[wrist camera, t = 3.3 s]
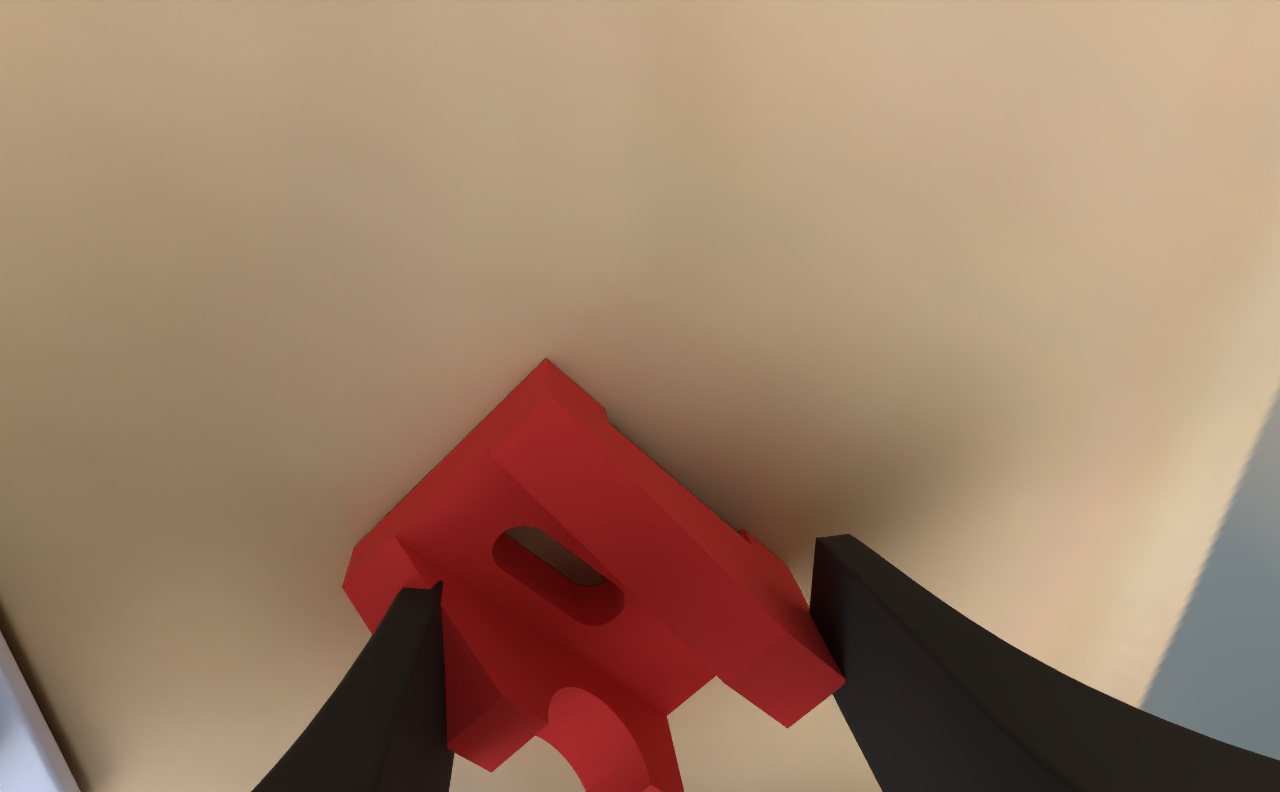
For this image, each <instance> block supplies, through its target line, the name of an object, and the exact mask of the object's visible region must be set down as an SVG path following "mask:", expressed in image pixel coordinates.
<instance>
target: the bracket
mask: <svg viewBox="0 0 1280 792" xmlns="http://www.w3.org/2000/svg"><path fill="white" fill-rule="evenodd" d="M518 526H531V527H535V528H538V529H540V530H542V531H543V532H545V533H546V534H547V535H549V536H550V537H551V538H553V539H554V540H555V541H557V542H558V543H560V544H561V545H562V546H564V547H565V548H566V549H568V550H569V551H570V552H572V553H573V554H575V555H576V556H577V557H579V558H580V559H581V560H583V561H584V562H585V563H587V564H588V565H590V566H591V567H592V568H594V569H595V570H596V571H598V572H599V573H600V574H602V575H603V576H605V577H606V578H607V579H608V580H607V581H606V582H604V583H602V584H600V585H596V586H591V587H586V586H580V585H577V584H575V583H573V582H572V581H570V580H569V579H567V578H566V577H565V576H563V575H562V574H560V573H559V572H558V571H556V570H555V569H553V568H552V567H551V566H549V565H548V564H546V563H545V562H543V561H542V560H541V559H539V558H538V557H536V556H535V555H534V554H532V553H531V552H529V551H528V550H527V549H525V548H524V547H522V546H521V545H520V544H518V543H517V542H515V541H514V540H513V539H511V538H510V537H508V536H507V535H506V534H504V533H503V532H505V531H506V530H508V529H511V528H514V527H518ZM441 580H443V591H442V598H441V617H442V631H443V645H444V659H445V682H446V718H447V746H448V749H449V750H451V751H453V752H455V753H456V754H458V755H460V756H462V757H464V758H466V759H467V760H469V761H471V762H473V763H475V764H477V765H479V766H480V767H482V768H484V769H486V770H488V771H490V772H493V771H494V770H495V769H496V768H497V767H499V766H500V765H501V764H502V763H503V762H504V761H506V760H507V759H508V758H509V757H510V756H512V755H513V754H514V753H515V752H516V751H517V750H519V749H520V748H521V747H522V746H523V745H524V744H526V743H527V742H528V741H529V740H530V739H532V738H533V737H534V736H535V735H536V736H538V737H540V738H542V739H544V740H545V741H547V742H548V743H550V744H551V745H552V746H553V747H555V748H556V749H557V750H558V751H559V752H560V753H561V754H562V755H563V756H564V757H565V759H566V760H567V761H568V762H569V763H570V765H571V766H572V767H573V769H574V770H575V772H576V773H577V775H578V777H579V778H580V780H581V782H582V784H583V786H584V788H585V790H586V792H684V789H683V785H682V780H681V776H680V772H679V768H678V763H677V759H676V755H675V750H674V746H673V742H672V737H671V733H670V729H669V724H668V720H667V715H668V714H670V713H671V712H672V711H673V710H675V709H676V708H677V707H678V706H679V705H681V704H682V703H683V702H684V701H686V700H687V699H688V698H689V697H690V696H692V695H693V694H694V693H695V692H697V691H698V690H699V689H700V688H701V687H703V686H704V685H705V684H706V683H708V682H709V681H710V680H711V679H712V678H714V677H715V676H716V675H717V676H718V677H719V678H720V679H721V680H722V681H723V682H724V683H725V684H726V685H728V686H729V687H731V688H732V689H733V690H735V691H736V692H738V693H739V694H740V695H742V696H743V697H744V698H746V699H747V700H749V701H750V702H751V703H753V704H754V705H756V706H757V707H758V708H760V709H761V710H763V711H764V712H765V713H767V714H768V715H770V716H771V717H772V718H774V719H775V720H776V721H778V722H779V723H781V724H782V725H783V726H785V727H786V728H789V727H790V726H792V725H793V724H794V723H795V722H797V721H798V720H799V719H801V718H802V717H803V716H804V715H806V714H807V713H808V712H810V711H811V710H812V709H813V708H815V707H816V706H817V705H818V704H820V703H821V702H822V701H824V700H825V699H826V698H827V697H829V696H830V695H831V694H833V693H834V692H835V691H836V690H838V689H839V688H840V687H842V686H843V685H844V684H845V678H844V676H843V674H842V673H841V671H840V669H839V667H838V666H837V664H836V662H835V660H834V659H833V657H832V655H831V653H830V652H829V650H828V648H827V646H826V644H825V642H824V640H823V638H822V636H821V634H820V632H819V630H818V628H817V626H816V624H815V623H814V621H813V619H812V617H811V615H810V613H809V610H810V608H809V606H808V604H807V602H806V600H805V599H804V597H803V595H802V593H801V591H800V589H799V587H798V585H797V583H796V581H795V580H794V578H793V576H792V574H791V572H790V570H789V568H788V566H787V565H786V564H785V563H784V562H782V561H781V560H780V559H779V558H778V557H777V556H776V555H774V554H773V553H772V552H771V551H770V550H769V549H767V548H766V547H765V546H764V545H763V544H762V543H760V542H759V541H758V540H757V539H756V538H755V537H753V536H752V535H751V534H750V533H749V532H748V531H746V530H745V529H743V530H742V531H741V532H739V533H737V532H736V531H735V530H734V529H732V528H731V527H730V526H729V525H728V524H727V523H725V522H724V521H723V520H722V519H721V518H719V517H718V516H717V515H716V514H715V513H714V512H712V511H711V510H710V509H709V508H708V507H707V506H705V505H704V504H703V503H702V502H701V501H700V500H698V499H697V498H696V497H695V496H694V495H692V494H691V493H690V492H689V491H688V490H687V489H685V488H684V487H683V486H682V485H681V484H680V483H678V482H677V481H676V480H675V479H674V478H673V477H671V476H670V475H669V474H668V473H667V472H665V471H664V470H663V469H662V468H661V467H660V466H658V465H657V464H656V463H655V462H654V461H653V460H651V459H650V458H649V457H648V456H647V455H646V454H644V453H643V452H642V451H641V450H640V449H639V448H637V447H636V446H635V445H634V444H633V443H631V442H630V441H629V440H628V439H627V438H626V437H624V436H623V435H622V434H621V433H620V432H619V431H617V430H616V429H615V428H614V427H613V426H612V425H610V424H609V423H608V420H607V416H606V412H605V408H604V407H602V406H601V405H600V404H599V403H598V402H597V401H595V400H594V399H593V398H592V397H591V396H590V395H588V394H587V393H586V392H585V391H584V390H583V389H582V388H580V387H579V386H578V385H577V384H576V383H575V382H573V381H572V380H571V379H570V378H569V377H568V376H566V375H565V374H564V373H563V372H562V371H561V370H559V369H558V368H557V367H556V366H555V365H554V364H552V363H551V362H550V361H549V360H548V359H547V358H546V359H545V360H544V361H543V362H542V363H541V364H540V365H539V366H538V367H537V368H536V369H535V370H534V371H533V372H532V373H531V374H530V375H529V376H528V377H527V378H526V379H525V380H524V381H523V382H522V383H521V384H520V385H519V386H518V387H517V388H516V389H515V390H513V391H512V392H511V393H510V394H509V395H508V396H507V397H506V398H505V399H504V400H503V401H502V402H501V403H500V404H499V405H498V406H497V407H496V408H495V409H494V410H493V411H492V412H491V413H490V414H489V415H488V416H487V417H486V418H485V419H484V420H483V421H482V422H481V423H480V424H479V425H478V426H477V427H476V428H475V429H474V430H473V431H472V432H471V433H470V434H469V435H468V436H467V437H466V438H465V439H464V440H463V441H462V442H461V443H460V444H459V445H458V446H457V447H456V448H455V449H454V450H453V451H452V452H451V453H450V454H449V455H448V456H447V457H446V458H445V459H443V460H442V461H441V462H440V463H439V464H438V465H437V466H436V467H435V468H434V469H433V470H432V471H431V472H430V473H429V474H428V475H427V476H426V477H425V478H424V479H423V480H422V481H421V482H420V483H419V484H418V485H417V486H416V487H415V488H414V489H413V490H412V491H411V492H410V493H409V494H408V495H407V496H406V497H405V498H404V499H403V500H402V501H401V502H400V503H399V504H398V505H397V506H396V507H395V508H394V509H393V510H392V511H391V512H390V513H389V514H388V515H387V516H386V517H385V518H384V519H383V520H382V521H381V522H380V523H379V524H378V525H377V526H376V527H375V528H373V529H372V530H371V531H370V532H369V533H368V534H367V535H366V536H365V537H364V538H363V539H362V540H361V541H360V542H359V543H358V544H357V545H356V546H355V547H354V550H353V553H352V556H351V560H350V563H349V566H348V570H347V573H346V576H345V580H344V583H343V586H342V588H343V589H344V591H345V593H346V594H347V596H348V597H349V599H350V600H351V602H352V603H353V605H354V607H355V608H356V610H357V611H358V613H359V614H360V616H361V617H362V619H363V621H364V622H365V624H366V625H367V627H368V628H369V630H370V632H371V633H372V635H373V633H374V632H375V630H376V628H377V627H378V625H379V624H380V622H381V620H382V619H383V617H384V615H385V614H386V612H387V610H388V609H389V607H390V605H391V604H392V602H393V600H394V598H395V597H396V595H397V593H398V592H399V591H400V590H401V589H402V588H403V587H406V588H418V589H431V588H432V587H433V586H434V585H435V584H436V583H437V582H438V581H441Z"/></svg>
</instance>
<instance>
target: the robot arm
mask: <svg viewBox="0 0 1280 792" xmlns="http://www.w3.org/2000/svg"><path fill="white" fill-rule="evenodd" d="M442 591H443V580H441V581H438V582H437V583H436V584H435V585H434V586H433V587H432V588H431V589H418V588H406V587H403V588H402V589H401V590H400V591H399V592H398V593H397V595H396V597H395V598H394V600H393V602H392V604H391V605H390V607H389V609H388V610H387V612H386V614H385V615H384V617H383V619H382V620H381V622H380V624H379V625H378V627H377V628H376V630H375V632H374V633H373V635H372V636H371V638H370V640H369V641H368V643H367V644H366V646H365V647H364V649H363V650H362V652H361V653H360V655H359V656H358V658H357V659H356V661H355V662H354V664H353V665H352V667H351V668H350V669H349V671H348V672H347V674H346V675H345V677H344V678H343V680H342V681H341V683H340V684H339V685H338V687H337V688H336V690H335V691H334V692H333V694H332V695H331V696H330V698H329V699H328V700H327V702H326V703H325V704H324V705H323V707H322V708H321V709H320V711H319V712H318V713H317V715H316V716H315V717H314V719H313V720H312V721H311V723H310V724H309V725H308V726H307V728H306V729H305V730H304V732H303V733H302V734H301V735H300V736H299V738H298V739H297V740H296V741H295V743H294V744H293V745H292V746H291V747H290V749H289V750H288V751H287V752H286V753H285V754H284V756H283V757H282V758H281V759H280V760H279V761H278V763H277V764H276V765H275V766H274V767H273V768H272V769H271V770H270V772H269V773H268V774H267V775H266V776H265V777H264V778H263V779H262V780H261V782H260V783H259V784H258V785H257V786H256V787H255V788H254V789H253V790H252V791H251V792H449V787H450V780H451V773H452V766H453V759H454V752H453V751H451V750H449V749H448V746H447V718H446V682H445V659H444V645H443V631H442V617H441V598H442ZM809 613H810V615H811V617H812V619H813V621H814V623H815V624H816V626H817V628H818V630H819V632H820V634H821V636H822V638H823V640H824V642H825V644H826V646H827V648H828V650H829V652H830V653H831V655H832V657H833V659H834V660H835V662H836V664H837V666H838V667H839V669H840V671H841V673H842V674H843V676H844V678H845V684H844V685H843V686H842V687H840V688H839V689H838V690H836V691H835V692H834V693H833V696H834V698H835V700H836V702H837V704H838V706H839V708H840V710H841V712H842V714H843V716H844V718H845V720H846V722H847V724H848V726H849V727H850V729H851V731H852V733H853V735H854V737H855V739H856V741H857V743H858V745H859V747H860V749H861V751H862V753H863V755H864V756H865V758H866V760H867V762H868V764H869V766H870V768H871V770H872V772H873V774H874V776H875V778H876V780H877V782H878V784H879V786H880V787H881V789H882V791H883V792H1280V761H1279V760H1276V759H1273V758H1270V757H1267V756H1263V755H1261V754H1257V753H1254V752H1251V751H1248V750H1245V749H1242V748H1239V747H1236V746H1233V745H1230V744H1227V743H1224V742H1221V741H1218V740H1216V739H1213V738H1210V737H1208V736H1205V735H1203V734H1200V733H1197V732H1195V731H1192V730H1190V729H1187V728H1184V727H1182V726H1179V725H1176V724H1174V723H1171V722H1169V721H1166V720H1164V719H1161V718H1159V717H1156V716H1154V715H1152V714H1149V713H1147V712H1144V711H1142V710H1140V709H1137V708H1135V707H1133V706H1130V705H1128V704H1126V703H1124V702H1122V701H1120V700H1117V699H1115V698H1113V697H1111V696H1109V695H1106V694H1104V693H1102V692H1100V691H1098V690H1096V689H1093V688H1091V687H1089V686H1087V685H1085V684H1083V683H1081V682H1079V681H1077V680H1075V679H1073V678H1071V677H1069V676H1067V675H1065V674H1063V673H1061V672H1059V671H1057V670H1055V669H1054V668H1052V667H1050V666H1048V665H1046V664H1044V663H1042V662H1041V661H1039V660H1037V659H1035V658H1033V657H1031V656H1030V655H1028V654H1026V653H1024V652H1022V651H1021V650H1019V649H1017V648H1015V647H1014V646H1012V645H1010V644H1008V643H1007V642H1005V641H1003V640H1002V639H1000V638H999V637H997V636H995V635H994V634H992V633H991V632H989V631H987V630H986V629H984V628H983V627H981V626H980V625H978V624H976V623H975V622H973V621H972V620H970V619H968V618H967V617H965V616H964V615H962V614H961V613H959V612H958V611H956V610H955V609H953V608H952V607H950V606H949V605H948V604H946V603H945V602H943V601H942V600H940V599H939V598H937V597H936V596H935V595H933V594H932V593H930V592H929V591H927V590H926V589H925V588H923V587H922V586H920V585H919V584H918V583H916V582H915V581H914V580H912V579H911V578H909V577H908V576H907V575H905V574H904V573H903V572H901V571H900V570H899V569H897V568H896V567H895V566H893V565H892V564H890V563H889V562H888V561H886V560H885V559H884V558H882V557H881V556H880V555H878V554H877V553H876V552H874V551H873V550H872V549H870V548H869V547H867V546H866V545H865V544H863V543H862V542H861V541H859V540H858V539H856V538H855V537H853V536H852V535H850V534H845V535H836V536H828V537H819V538H816V543H815V554H814V565H813V577H812V588H811V599H810V610H809ZM0 792H81V791H80V789H79V787H78V785H77V783H76V781H75V779H74V777H73V775H72V773H71V771H70V769H69V767H68V765H67V763H66V761H65V759H64V757H63V755H62V753H61V751H60V749H59V747H58V745H57V743H56V741H55V739H54V737H53V735H52V733H51V731H50V729H49V727H48V725H47V723H46V721H45V719H44V717H43V715H42V713H41V711H40V709H39V707H38V705H37V703H36V701H35V699H34V697H33V695H32V693H31V691H30V689H29V687H28V685H27V683H26V681H25V679H24V677H23V675H22V673H21V671H20V669H19V667H18V665H17V663H16V661H15V659H14V657H13V655H12V653H11V651H10V649H9V647H8V645H7V643H6V641H5V639H4V637H3V635H2V633H1V631H0Z"/></svg>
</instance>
